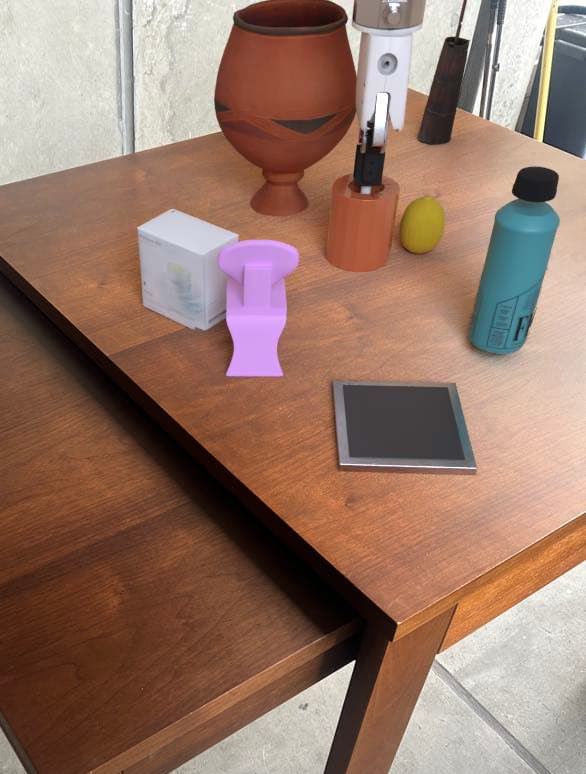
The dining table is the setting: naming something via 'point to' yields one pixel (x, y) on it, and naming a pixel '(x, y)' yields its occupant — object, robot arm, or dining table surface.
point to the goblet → (286, 93)
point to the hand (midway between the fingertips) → (366, 181)
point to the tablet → (401, 428)
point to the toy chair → (256, 302)
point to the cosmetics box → (184, 268)
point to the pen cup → (361, 224)
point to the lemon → (422, 225)
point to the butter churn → (445, 89)
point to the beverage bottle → (515, 263)
